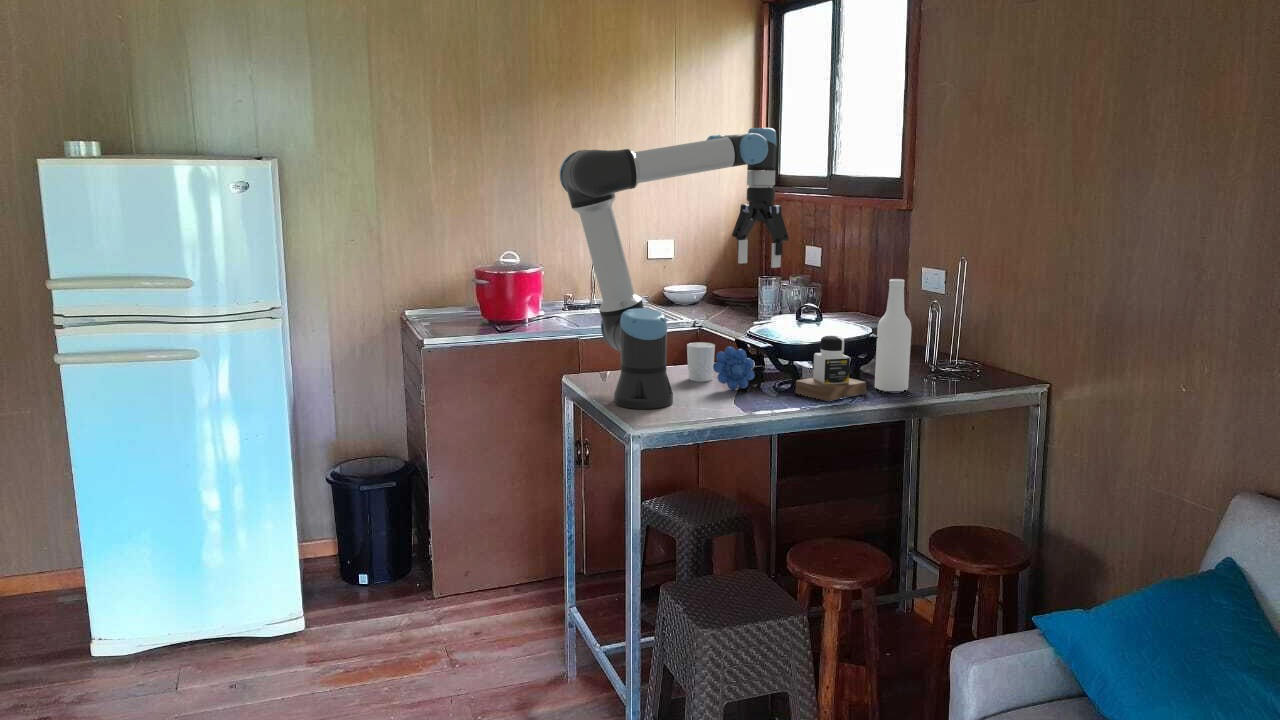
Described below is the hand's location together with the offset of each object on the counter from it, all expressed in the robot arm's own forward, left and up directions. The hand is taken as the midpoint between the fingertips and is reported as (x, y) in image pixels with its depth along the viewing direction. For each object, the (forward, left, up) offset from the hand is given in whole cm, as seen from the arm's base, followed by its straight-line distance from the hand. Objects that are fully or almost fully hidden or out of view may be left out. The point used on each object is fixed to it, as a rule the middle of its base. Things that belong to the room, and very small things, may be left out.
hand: (758, 265), depth 261 cm
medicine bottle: (+6, -23, -29) cm, 38 cm away
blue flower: (-12, -5, -33) cm, 35 cm away
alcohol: (+23, -29, -33) cm, 49 cm away
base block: (+6, -23, -33) cm, 40 cm away
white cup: (-11, +11, -33) cm, 36 cm away
